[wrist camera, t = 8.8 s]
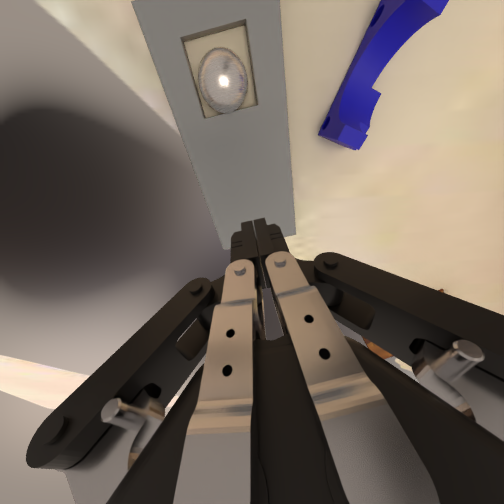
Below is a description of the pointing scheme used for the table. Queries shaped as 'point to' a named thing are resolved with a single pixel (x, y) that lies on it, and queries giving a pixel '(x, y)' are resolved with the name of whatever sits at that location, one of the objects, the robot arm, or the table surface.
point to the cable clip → (374, 67)
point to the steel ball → (223, 80)
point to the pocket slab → (234, 123)
